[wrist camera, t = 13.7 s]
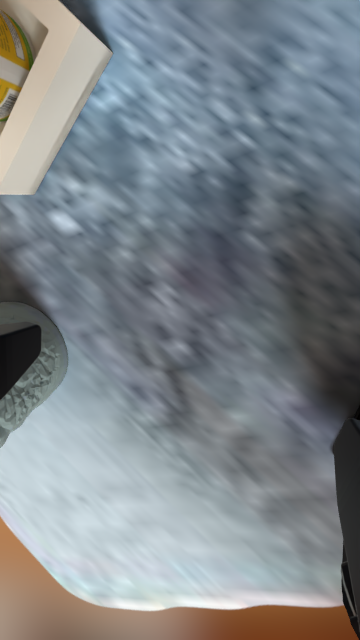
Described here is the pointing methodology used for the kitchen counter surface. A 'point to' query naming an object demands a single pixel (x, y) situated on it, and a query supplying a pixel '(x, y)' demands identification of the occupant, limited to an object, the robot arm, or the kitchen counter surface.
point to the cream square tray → (47, 91)
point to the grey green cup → (32, 368)
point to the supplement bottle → (13, 62)
